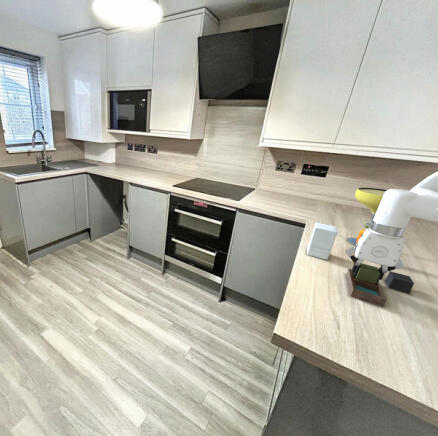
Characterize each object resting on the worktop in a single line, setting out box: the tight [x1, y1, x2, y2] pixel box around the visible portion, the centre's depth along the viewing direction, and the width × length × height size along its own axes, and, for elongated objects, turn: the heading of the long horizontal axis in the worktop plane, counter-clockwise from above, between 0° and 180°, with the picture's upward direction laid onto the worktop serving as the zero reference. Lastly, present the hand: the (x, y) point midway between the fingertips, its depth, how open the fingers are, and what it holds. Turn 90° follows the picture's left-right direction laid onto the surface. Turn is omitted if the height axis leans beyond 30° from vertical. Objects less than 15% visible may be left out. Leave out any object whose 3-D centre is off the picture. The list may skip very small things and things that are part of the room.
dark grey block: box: [384, 271, 415, 294], centre depth 80 cm, size 5×5×4 cm
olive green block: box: [356, 262, 380, 284], centre depth 80 cm, size 5×5×4 cm
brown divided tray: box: [346, 268, 387, 307], centre depth 78 cm, size 8×15×3 cm, turn 146°
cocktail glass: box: [347, 187, 388, 246], centre depth 106 cm, size 18×18×25 cm
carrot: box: [355, 222, 370, 246], centre depth 98 cm, size 5×5×15 cm
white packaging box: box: [306, 222, 338, 260], centre depth 98 cm, size 7×7×13 cm
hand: (365, 276), depth 80 cm, fingers closed on olive green block, 4 cm apart
